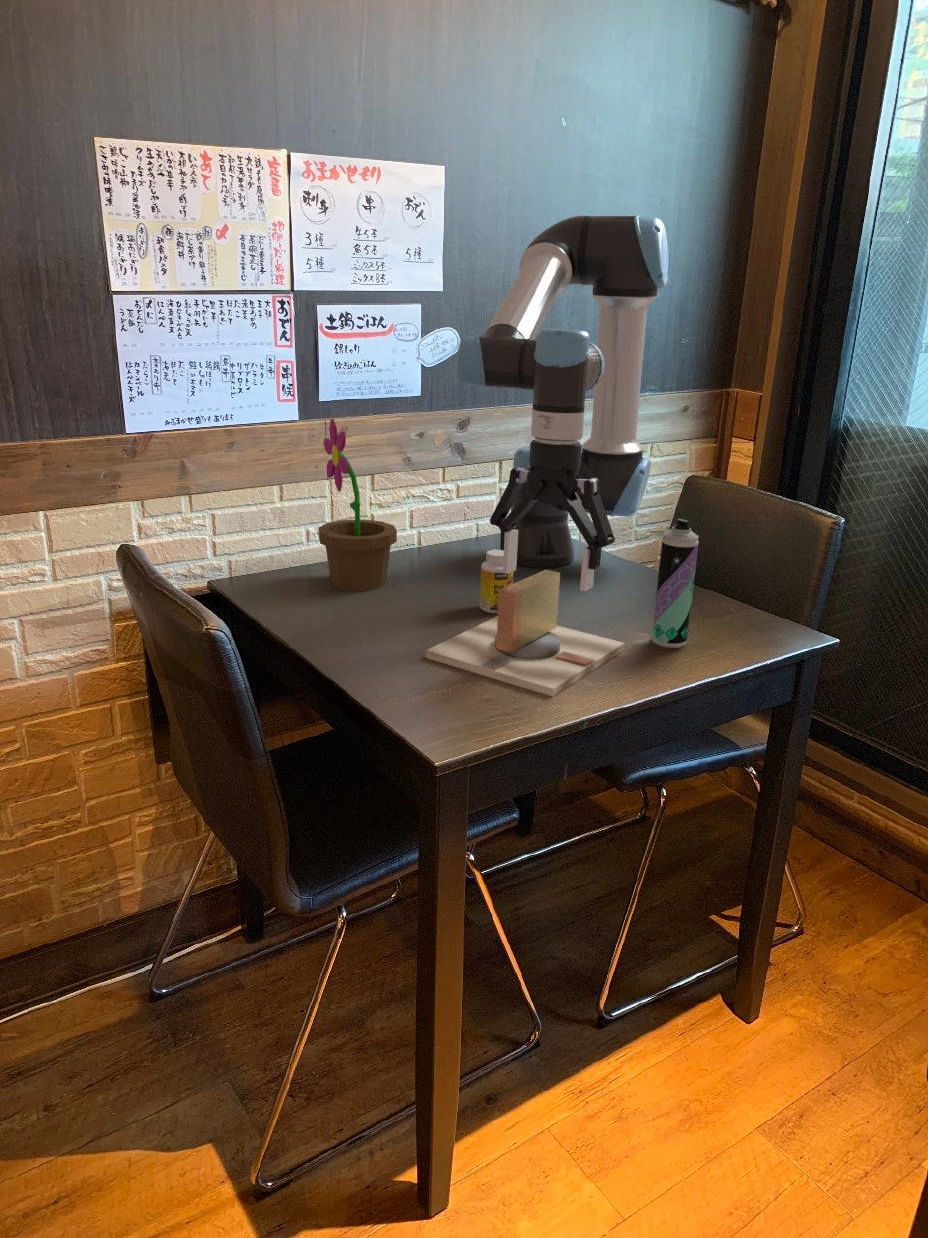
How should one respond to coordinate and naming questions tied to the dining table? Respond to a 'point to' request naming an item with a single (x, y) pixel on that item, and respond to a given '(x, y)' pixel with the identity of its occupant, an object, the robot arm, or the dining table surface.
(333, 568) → the flowerpot
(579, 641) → the board
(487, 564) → the supplement bottle
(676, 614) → the spray can
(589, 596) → the dining table surface
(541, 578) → the tan rectangular block
